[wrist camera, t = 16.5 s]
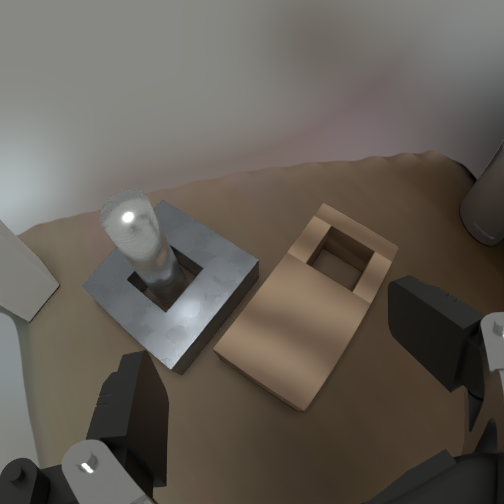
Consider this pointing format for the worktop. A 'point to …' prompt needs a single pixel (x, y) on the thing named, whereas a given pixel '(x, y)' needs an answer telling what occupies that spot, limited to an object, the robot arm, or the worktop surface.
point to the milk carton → (22, 277)
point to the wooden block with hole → (306, 310)
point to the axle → (144, 244)
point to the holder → (192, 299)
